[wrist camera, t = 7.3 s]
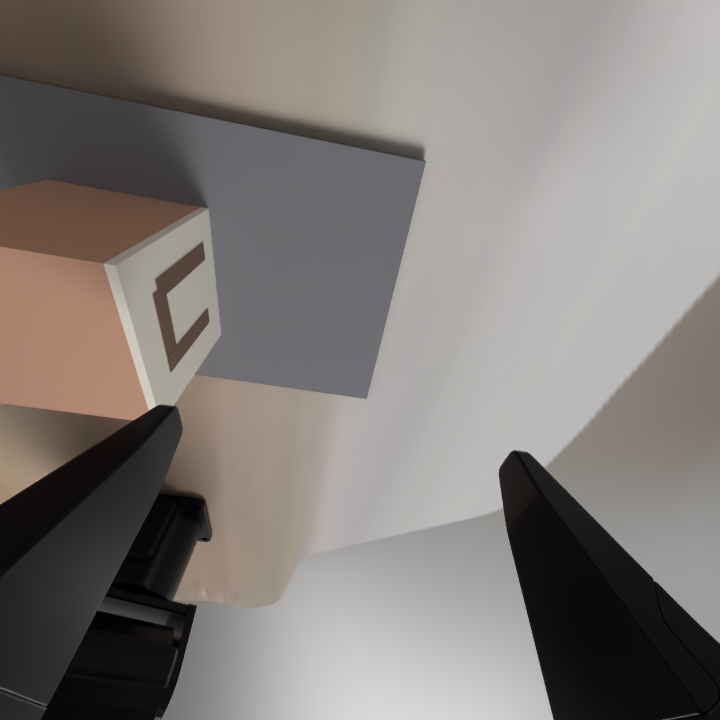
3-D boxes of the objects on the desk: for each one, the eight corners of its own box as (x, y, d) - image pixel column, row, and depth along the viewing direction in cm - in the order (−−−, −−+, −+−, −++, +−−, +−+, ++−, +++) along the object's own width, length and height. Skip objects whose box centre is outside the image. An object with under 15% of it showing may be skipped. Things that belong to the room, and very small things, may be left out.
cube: (162, 424, 12) (-18, 400, 12) (221, 334, 17) (96, 314, 16) (116, 265, 8) (-147, 222, 8) (209, 208, 13) (48, 179, 13)
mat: (366, 394, 20) (366, 398, 19) (-38, 335, 18) (-45, 340, 18) (424, 160, 12) (425, 161, 12) (-244, 25, 11) (-264, 22, 10)
